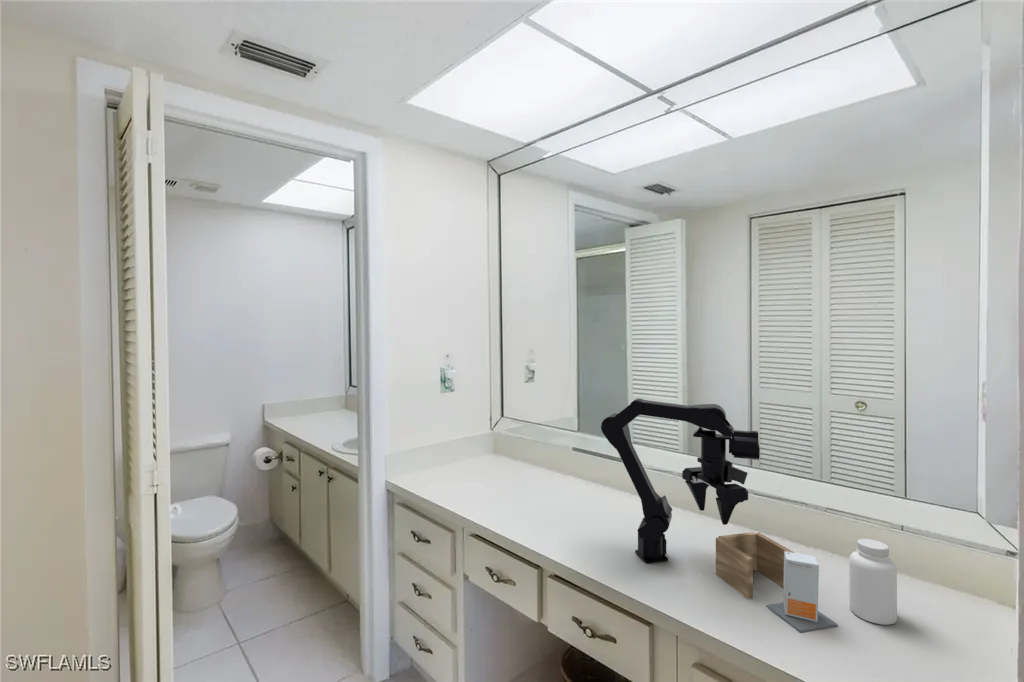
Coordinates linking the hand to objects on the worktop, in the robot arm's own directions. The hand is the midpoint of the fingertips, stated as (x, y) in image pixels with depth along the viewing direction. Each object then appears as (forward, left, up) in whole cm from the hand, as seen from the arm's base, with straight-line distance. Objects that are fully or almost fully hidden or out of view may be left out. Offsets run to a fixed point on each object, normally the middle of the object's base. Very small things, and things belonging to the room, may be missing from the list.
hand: (713, 517), depth 119 cm
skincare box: (+5, -22, -13) cm, 26 cm away
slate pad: (+5, -22, -13) cm, 26 cm away
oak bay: (+5, -9, -13) cm, 16 cm away
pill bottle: (+20, -25, -13) cm, 35 cm away
